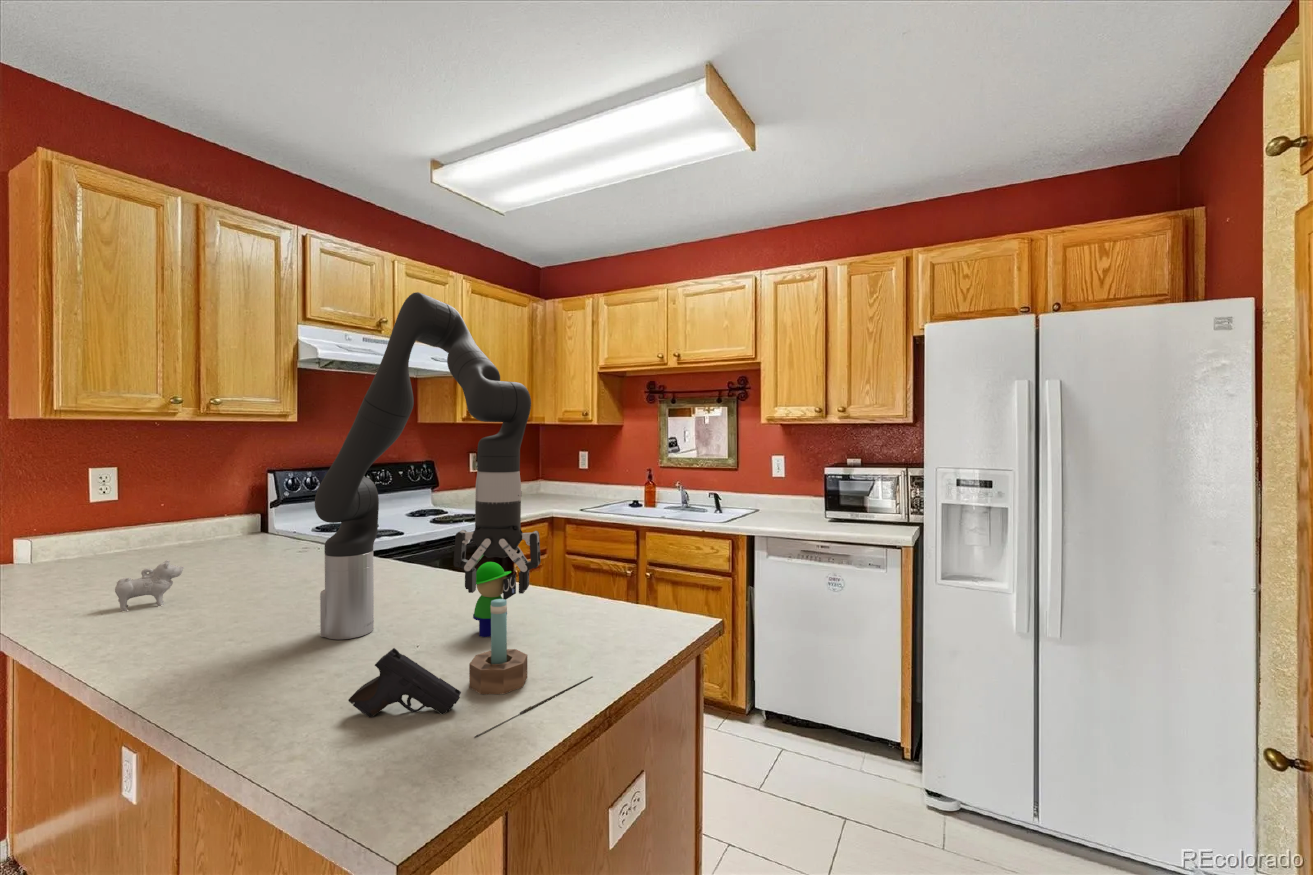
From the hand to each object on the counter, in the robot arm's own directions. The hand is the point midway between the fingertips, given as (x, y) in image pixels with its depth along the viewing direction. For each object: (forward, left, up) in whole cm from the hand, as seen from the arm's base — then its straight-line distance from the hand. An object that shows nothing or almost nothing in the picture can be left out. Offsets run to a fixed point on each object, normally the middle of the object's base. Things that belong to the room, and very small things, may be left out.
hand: (497, 592), depth 99 cm
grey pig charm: (-97, +45, -16) cm, 108 cm away
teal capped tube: (0, 0, -16) cm, 16 cm away
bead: (0, 0, -16) cm, 16 cm away
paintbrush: (+9, -8, -16) cm, 20 cm away
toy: (-8, +25, -16) cm, 31 cm away
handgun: (-11, -10, -16) cm, 22 cm away
